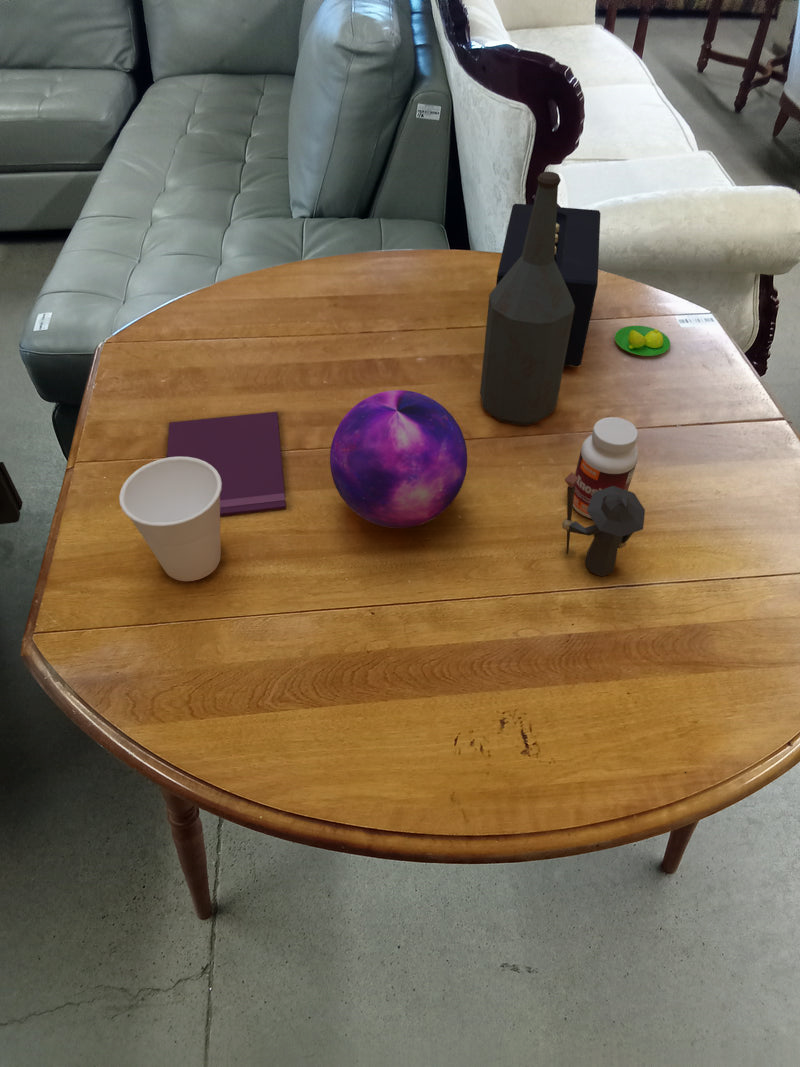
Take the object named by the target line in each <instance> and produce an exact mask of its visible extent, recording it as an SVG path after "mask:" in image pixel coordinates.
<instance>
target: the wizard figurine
mask: <svg viewBox="0 0 800 1067" xmlns="http://www.w3.org/2000/svg"><path fill="white" fill-rule="evenodd" d="M578 479H579V478H578V477H577V476H576V475H575V473H574V472H573V471H571V472H570V473H568V475H567V476H566V477H565V478H564V482H565V483H566V484H567V487H566V488H567V490H566V491H567V492H566V495H567V497H566V498H567V500H566V501H567V502H566V505H567V506H566V519H564V520H563V521H562V522H561V526H562V529H564V530H565V531H566V549H565V550H566V555H568V554H569V550H570V538H571V533H573V534H579V535H582V536H583V535H584V536H587V537H590V536H593V539H592V541H591V544H590V545H589V547H588V549H587V551H586V554H585V560H584V563H585V565H586V567H587V569H588V570H589V572H590V573H593V574H595V575H598V576H600V577H605V576H607V575H609V574H612V573H614V571H615V566H616V561H617V556H618V550H621V549H622V548H625V547H626V545H627V542H628V540H629V539H630V538H631V537H632V536H633V534H634V533H636V532H639V531H643V530H644V525H645V513H646V509H645V508H644V506H643V505H642V503H641V501H640V500H639V498H638V497H637V495H636V493H635V492H632V491H629V490H628V491H627V490H624V489H621V488H618V487H615V486H611V487H608V488H605V489H603V490H600V491H597V492H595V493H593V495H592V498H591V501H590V504H589V507H588V509H587V512H588V514H589V515H590V517H591V518H592V519H591V518H590V519H591V520H592V521H593V523H594V524H592V525H588V526H586V527H585V526H583V525H582V524H580V523H579V522H578V521H576V520H574V521H573V520H572V516H573V509H574V507H573V499H574V490H575V486H574V485H575V483H576V482H577V480H578Z"/></svg>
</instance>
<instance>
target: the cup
mask: <svg viewBox="0 0 800 1067" xmlns="http://www.w3.org/2000/svg"><path fill="white" fill-rule="evenodd" d="M221 489H222V482H221V478H220V475H219V474H218V472H217V470H216V469H215V468H214V467H213V466H212V465H210V464H208V463H207V462H205V461H202V460H200V459H197V458H191V457H180V456H179V457H169V458H167V457H164V458H159V459H157V460H154V461H151V462H148V463H147V464H144V465H143V466H141V467H139V468H137V469H136V470H135V471H134V472H133V473H132V474H130V475H129V476H128V478H127V479H126V480H125V481H124V482H123V484H122V486H121V489H120V492H119V497H118V500H119V505H120V507H121V510H122V512H123V513H124V514H125V515H126V516H127V517H128V518H129V519H130V520H131V521H132V523H133V525H134V526H135V528H136V530H137V531H138V532H139V534H140V535H141V537H142V538H143V539H144V541H145V543H146V544H147V546H148V547H149V549H150V551H151V552H152V554H153V555H154V556H155V558H156V559H157V561H158V563H159V564H160V566H161V567H162V569H163V571H164V572H165V573H166V574H167V576H169V577H170V578H171V579H174V580H176V581H181V582H193V581H198V580H201V579H204V578H205V577H207V576H209V575H210V574H212V573H213V572H214V571H215V570H216V569H217V568H218V566H219V564H220V563H221V562H220V561H221V559H222V558H221V556H222V553H221V552H222V550H221V548H222V546H221V544H222V543H221V542H222V541H221V516H220V492H221Z"/></svg>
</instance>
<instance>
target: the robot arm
mask: <svg viewBox="0 0 800 1067" xmlns="http://www.w3.org/2000/svg"><path fill="white" fill-rule="evenodd" d="M22 508H23V499H22V498H21V495H20V494H19V491H18V490H17V488H16V486H15V483H14V481H13V479H12V477H11V475H10V473H9V471H8V469H7V467H6V464H5V463H4V461H0V525H7V524H14V523H18V522H19V521H20V518H21V510H22Z"/></svg>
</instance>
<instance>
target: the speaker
mask: <svg viewBox="0 0 800 1067" xmlns="http://www.w3.org/2000/svg"><path fill="white" fill-rule="evenodd" d="M533 205H534V204H526V203H514V204H512V205H511V206H512V207H511V211H510V215H509V221H508V225H507V229H506V234H505V238H504V243H503V247H502V252H501V256H500V261H499V265H498V269H497V273H496V282H495V287H496V286H497V284H498V283H499V282H500V281H501V280H502V278H503V277H504V276H505V275H506V274H507V272H508V271H509V270H510V269H511V268H512V266H513V265H514V264H515V263H516V262H517V260H518V259H519V258H520V257H521V256H522V252H523V248H524V243H525V239H526V235H527V231H528V226H529V222H530V218H531V214H532V209H533ZM600 234H601V212H600V210H599V209H586V208H574V207H564V206H557V216H556V235H555V255H554V260H555V262H556V264H557V266H558V269H559V271H560V273H561V275H562V277H563V280H564V282H565V284H566V286H567V288H568V290H569V293H570V295H571V298H572V300H573V303H574V305H575V309H574V315H573V320H572V325H571V331H570V336H569V341H568V347H567V352H566V357H565V362H564V367H578V368H579V367H580V366H581V365H582V360H583V357H584V352H585V347H586V342H587V338H588V333H589V328H590V323H591V318H592V314H593V308H594V303H595V300H596V299H595V298H596V294H597V290H598V289H597V288H598V283H599V282H598V280H599V260H600V258H599V257H600Z"/></svg>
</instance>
